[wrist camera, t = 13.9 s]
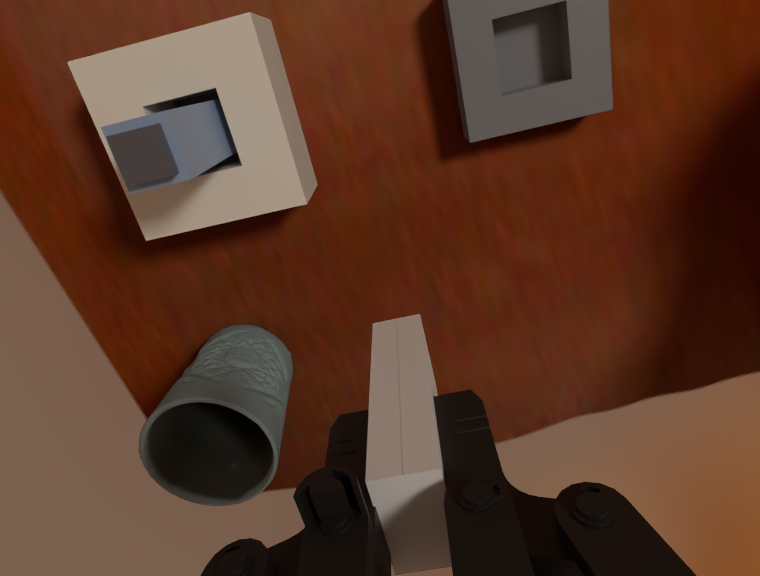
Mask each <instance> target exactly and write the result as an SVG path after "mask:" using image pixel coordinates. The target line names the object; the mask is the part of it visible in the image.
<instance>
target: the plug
mask: <svg viewBox="0 0 760 576" xmlns="http://www.w3.org/2000/svg"><path fill="white" fill-rule="evenodd" d="M101 129H102V131H103V134H104V136H105V138H106V140H107V143H108V145H109V147H110V150H111V152H112V154H113V156H114V159H115V161H116V163H117V166H118V168H119V170H120V172H121V175H122V177H123V179H124V182H125V184H126V186H127V188H128V191H129V193H130V194H132V193H136V192H141V191H145V190H149V189H153V188H157V187H161V186H166V185H170V184H174V183H178V182H182V181H186V180H190V179H193V178H195V177H196V176H198V175H200V174H201V173H203V172H204V171H206V170H208V169H209V168H211V167H213V166H214V165H216V164H218V163H219V162H221V161H223V160H224V159H226V158H228V157H229V156H231V155H233V154H234V153H236V152H237V149H236V146H235V143H234V140H233V137H232V134H231V131H230V129H229V126H228V123H227V120H226V117H225V114H224V111H223V108H222V105H221V102H220V99H216V100H211V101H207V102H202V103H197V104H193V105H188V106H184V107H179V108H174V109H170V110H165V111H161V112H157V113H154V114H150V115H146V116H142V117H138V118H134V119H130V120H126V121H122V122H119V123H115V124H111V125H107V126H103V127H101Z"/></svg>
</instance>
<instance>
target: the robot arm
mask: <svg viewBox="0 0 760 576" xmlns="http://www.w3.org/2000/svg"><path fill="white" fill-rule="evenodd" d="M328 446H329V447H328V448H327V455H326V457H327V459H326V462H325V468H322V469H319V470H316V471H315V472H313V473H311V474H310V475H308V476H307V477H305V479H304V480H303V481H302V482H301V483H300V484H299V485H298V486H297V489H296V491H295V493H294V496H293V497H294V500H295V502H296V504H297V507H298V509H299V512H300V514H301V517H302V519H303V522H304V524H305V528H304V529H303V530H302V531H300V532H299V533H298V534H296V535H295V536H293V537H291V538H290V539H287V540H285V541H283V542H281V543H279V544H276V545H274V546H272V547H270V548H266V547H265V546H264V545H263V544H262V542H261V541H258V540H255V539H252V538H249V539H241V540H237V541H235V542H233V543H231V544H228V545H226V546H225V547H224V548H223V549H221V550H220V551H219V552H218V553H216V554H215V555H214V557H213V558H212V559H211V560H210V562H209V563H208V564H207V566H206V567H205V569H204V571H203V573H202V574H201V576H391V563H392V566H393V569H394V572H395V575H398V574H404V573H411V572H418V571H424V570H431V569H438V568H444V567H451V566H452V570H453V576H696V575H695V574H694V572H693V571H692V570H691V569H690V568H689V567H688V566H687V565H686V564H685V563H684V561H682V559H681V558H680V557H679V556H678V555H677V554H676V553H675V552H674V551H673V549H672V548H671V547H670V546H669V545H668V544H667V543H666V542H665V541H664V540H663V539H662V537H661V536H660V535H659V534H658V533H657V532H656V531H655V530H654V529H653V527H652V526H651V525H650V524H649V523H648V522H647V521H646V520H645V519H644V518H643V516H642V515H641V514H640V513H639V512H638V511H637V510H636V509H635V508H634V507H633V506H632V504H631V503H630V502H629V501H628V500H627V499H626V498H625V497H624V496H623V495H621V494H620V493H619V492H617V491H616V490H615V489H613V488H611V487H608V486H605V485H603V484H600V483H590V482H582V483H577V484H572V485H570V486H569V487H567V488H565V489H564V490H562V491H561V492H560V494H559V495H558V497H557V498H556V499H553V498H544V497H537V496H533V495H528V494H526V493H523V492H521V491H519V490H517V489H516V488H515V487H513V486H512V485H511V484H510V483H509V482H508V481H507V479H506V478H505V476H504V474H503V472H502V468H501V465H500V461H499V458H498V454H497V451H496V447H495V444H494V440H493V437H492V433H491V430H490V426H489V423H488V419H487V416H486V412H485V409H484V405H483V402H482V400H481V399H480V398H479V397H478V396H477V395H476V394H475V393H474V392H473V391H472V390H466V391H460V392H455V393H450V394H444V395H439V396H437V389H436V384H435V379H434V375H433V370H432V366H431V361H430V357H429V353H428V348H427V344H426V339H425V335H424V330H423V326H422V322H421V317H420V314H417V315H412V316H407V317H402V318H397V319H392V320H387V321H383V322H378V323H373V333H372V353H371V374H370V395H369V410H365V411H359V412H354V413H348V414H343V415H340V416H339V417H338V419H337V420H336V422H335V423H334V425H333V426H332V428H331V429H330V435H329V442H328Z"/></svg>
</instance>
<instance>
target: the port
mask: <svg viewBox="0 0 760 576" xmlns="http://www.w3.org/2000/svg"><path fill="white" fill-rule="evenodd" d="M67 63H68V65H69V67H70V70H71V72H72V74H73V77H74V79H75V81H76V83H77V86H78V88H79V90H80V92H81V95H82V97H83V99H84V101H85V104H86V106H87V108H88V111H89V113H90V115H91V117H92V120H93V122H94V124H95V126H96V129H97V131H98V133H99V135H100V138H101V140H102V142H103V145H104V147H105V149H106V151H107V154H108V156H109V158H110V160H111V163H112V165H113V167H114V169H115V172H116V174H117V176H118V178H119V181H120V183H121V185H122V188H123V190H124V192H125V194H126V197H127V199H128V201H129V203H130V206H131V208H132V210H133V212H134V215H135V217H136V219H137V222H138V224H139V226H140V228H141V231H142V233H143V235H144V237H145V240H146V241H148V240H152V239H157V238H161V237H165V236H170V235H174V234H178V233H183V232H187V231H191V230H196V229H200V228H205V227H209V226H213V225H218V224H222V223H226V222H231V221H235V220H239V219H244V218H248V217H252V216H257V215H261V214H265V213H270V212H274V211H279V210H283V209H287V208H292V207H296V206H300V205H305V204H307V203H308V201H309V199H310V197H311V196H312V194H313V192H314V190H315V189H316V187H317V181H316V178H315V174H314V171H313V167H312V164H311V160H310V157H309V153H308V149H307V146H306V142H305V139H304V135H303V132H302V128H301V125H300V121H299V118H298V114H297V111H296V107H295V104H294V100H293V97H292V93H291V90H290V86H289V83H288V79H287V76H286V72H285V69H284V65H283V61H282V58H281V54H280V51H279V47H278V44H277V40H276V37H275V33H274V30H273V26H272V23H271V20H270V19H267V18H264V17H261V16H259V15H256V14H253V13H251V12H249V13H245V14H242V15H238V16H234V17H231V18H227V19H223V20H220V21H216V22H212V23H209V24H205V25H201V26H198V27H194V28H190V29H187V30H183V31H179V32H176V33H172V34H168V35H165V36H161V37H157V38H154V39H150V40H146V41H143V42H139V43H135V44H132V45H128V46H124V47H121V48H117V49H113V50H110V51H106V52H102V53H99V54H95V55H91V56H88V57H84V58H80V59H77V60H73V61H69V62H67ZM216 99H220V102H221V105H222V108H223V111H224V114H225V117H226V120H227V123H228V126H229V129H230V131H231V134H232V137H233V140H234V143H235V146H236V149H237V152H236V153H234V154H233V155H231V156H229V157H228V158H226V159H224V160H223V161H221V162H219V163H218V164H216V165H214V166H213V167H211V168H209V169H208V170H206V171H204V172H203V173H201V174H200V175H198V176H196V177H195V178H193V179H190V180H186V181H182V182H178V183H174V184H170V185H166V186H161V187H157V188H153V189H149V190H145V191H141V192H136V193H132V194H130V193H129V191H128V188H127V186H126V184H125V182H124V179H123V177H122V175H121V172H120V170H119V168H118V166H117V163H116V161H115V159H114V156H113V154H112V152H111V150H110V147H109V145H108V143H107V140H106V138H105V136H104V134H103V131H102V129H101V127H103V126H107V125H111V124H115V123H119V122H122V121H126V120H130V119H134V118H138V117H142V116H146V115H150V114H154V113H157V112H161V111H165V110H170V109H174V108H179V107H184V106H188V105H193V104H197V103H202V102H207V101H211V100H216Z"/></svg>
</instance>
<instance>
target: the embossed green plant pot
mask: <svg viewBox="0 0 760 576" xmlns="http://www.w3.org/2000/svg"><path fill="white" fill-rule="evenodd" d="M292 373H293V365H292V359H291V354H290V353H289V351H288V350H287V347H286V346H285V345H284V343H283V342H281V341H280V340H279V339H278V338H277V337H276V336H275V335H273V334H271V333H270V332H269V331H266V330H264V329H263V328H260V327H257V326H253V325H233V326H228V327H226V328H223V329H221V330H220V331H218V332H216V333H214V334H213V335H212V336H211V337H210V338H209V339H208V340H207V341H206V343H205V344H204V345H203V346H202V348H201V349H200V351H199V353H198V355H197V357H196V359H195V360H194V361H193V362H192V363H191V365H190V366H189V367H187V368H186V369H185V371H184V373H183V375H182V377H181V378H180V379H178V381H177V382H176V383H175V384H174V385H173V387H172V388H171V389H170V390H169V392H168V393H167V394H166V395H165V397H164V398H163V399H162V401H161V402H160V404H159V405H158V406H157V408H156V409H155V410H154V412H153V413H152V414H151V415H150V417H149V418H148V420H147V421H146V422H145V424H144V426H143V428H142V430H141V433H140V440H139V453H140V457H141V460H142V462H143V464H144V467H145V468H146V470H147V471H148V473H149V474H150V476H151V477H152V478H153V479H154V480H155V481H156V482H157V483H158V484H159V485H160V486H162V487H163V488H164V489H165V490H167V491H168V492H170V493H172V494H173V495H176V496H178V497H180V498H182V499H184V500H187V501H190V502H194V503H198V504H202V505H211V506H224V505H232V504H238V503H241V502H244V501H247V500H249V499H251V498H253V497H255V496H256V495H258V494H260V493H261V492H262V491H263V490H264V489H265V488H266V487H267V486H268V485H269V484H270V482H271V481H272V479H273V477H274V475H275V473H276V469H277V466H278V460H279V453H280V446H281V439H282V433H283V428H284V421H285V415H286V412H285V410H286V408H287V403H288V396H289V388H290V383H291V378H292Z"/></svg>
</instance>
